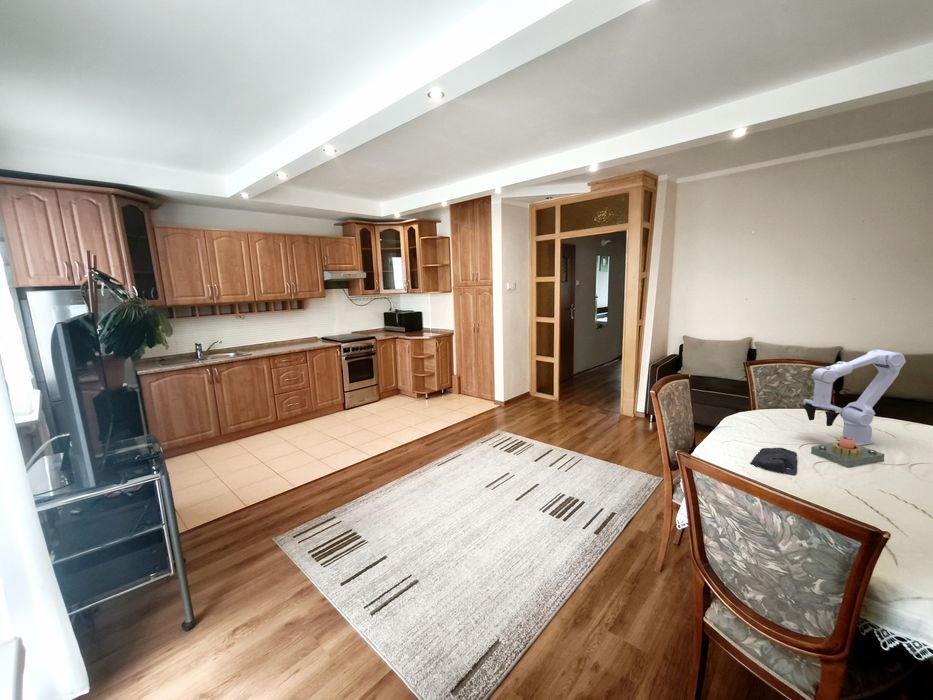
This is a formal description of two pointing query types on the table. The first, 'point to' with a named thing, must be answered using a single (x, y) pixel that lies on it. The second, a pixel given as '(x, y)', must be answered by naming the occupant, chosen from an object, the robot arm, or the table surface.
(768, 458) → the dark slate chunk
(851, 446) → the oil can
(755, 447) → the table surface
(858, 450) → the metal plate with ring
